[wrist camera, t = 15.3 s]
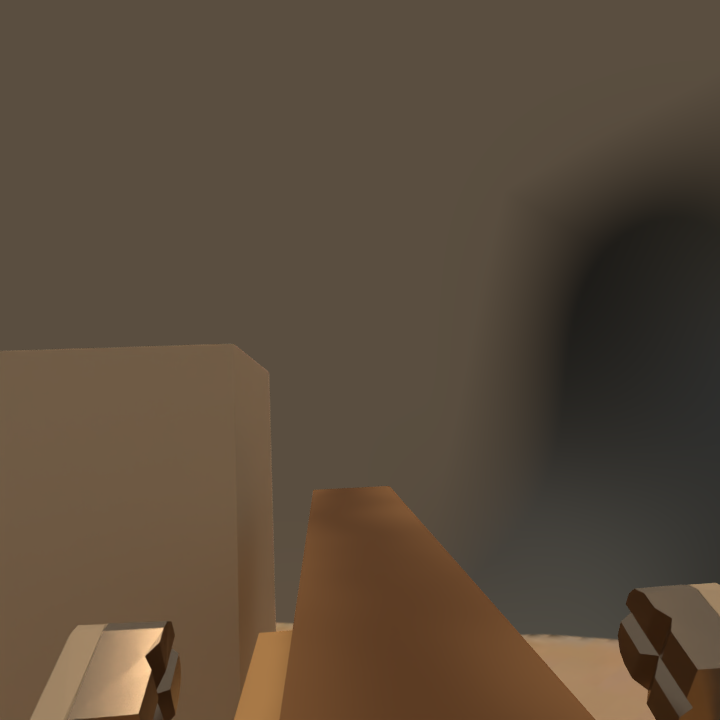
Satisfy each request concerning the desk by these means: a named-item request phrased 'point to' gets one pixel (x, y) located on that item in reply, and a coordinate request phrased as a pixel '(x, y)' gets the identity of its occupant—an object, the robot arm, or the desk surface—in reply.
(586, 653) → the desk surface
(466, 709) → the walnut bar
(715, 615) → the robot arm
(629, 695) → the desk surface
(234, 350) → the tall beige box
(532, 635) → the desk surface
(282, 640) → the tower top
